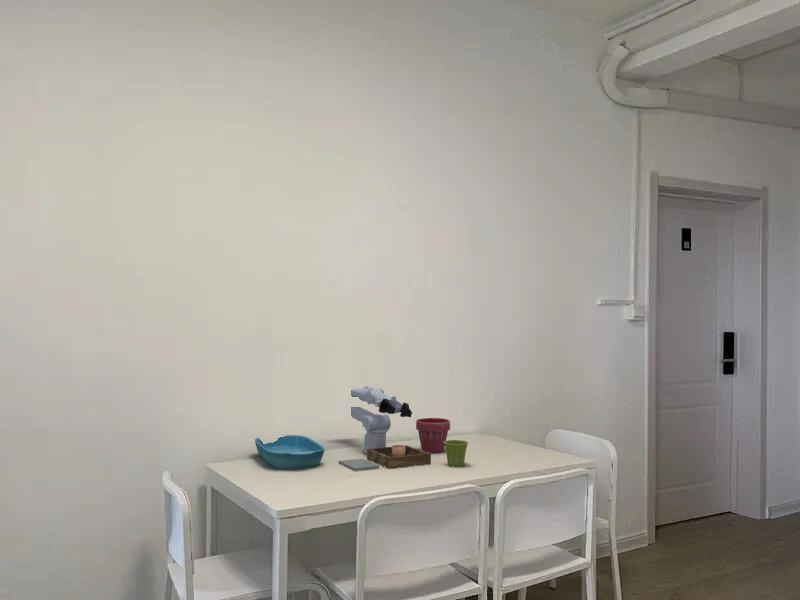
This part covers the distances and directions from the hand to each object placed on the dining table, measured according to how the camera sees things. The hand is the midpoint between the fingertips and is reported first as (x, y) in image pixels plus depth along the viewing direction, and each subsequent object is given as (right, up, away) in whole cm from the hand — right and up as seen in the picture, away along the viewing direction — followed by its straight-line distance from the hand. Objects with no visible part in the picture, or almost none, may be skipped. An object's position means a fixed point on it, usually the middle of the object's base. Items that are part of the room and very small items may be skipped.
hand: (402, 413), depth 275 cm
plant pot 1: (+13, -20, +25) cm, 35 cm away
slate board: (-16, -19, -5) cm, 26 cm away
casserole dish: (-44, -19, +3) cm, 48 cm away
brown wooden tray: (-2, -19, +4) cm, 20 cm away
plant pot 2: (+20, -20, 0) cm, 28 cm away
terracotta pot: (-2, -19, +4) cm, 20 cm away
